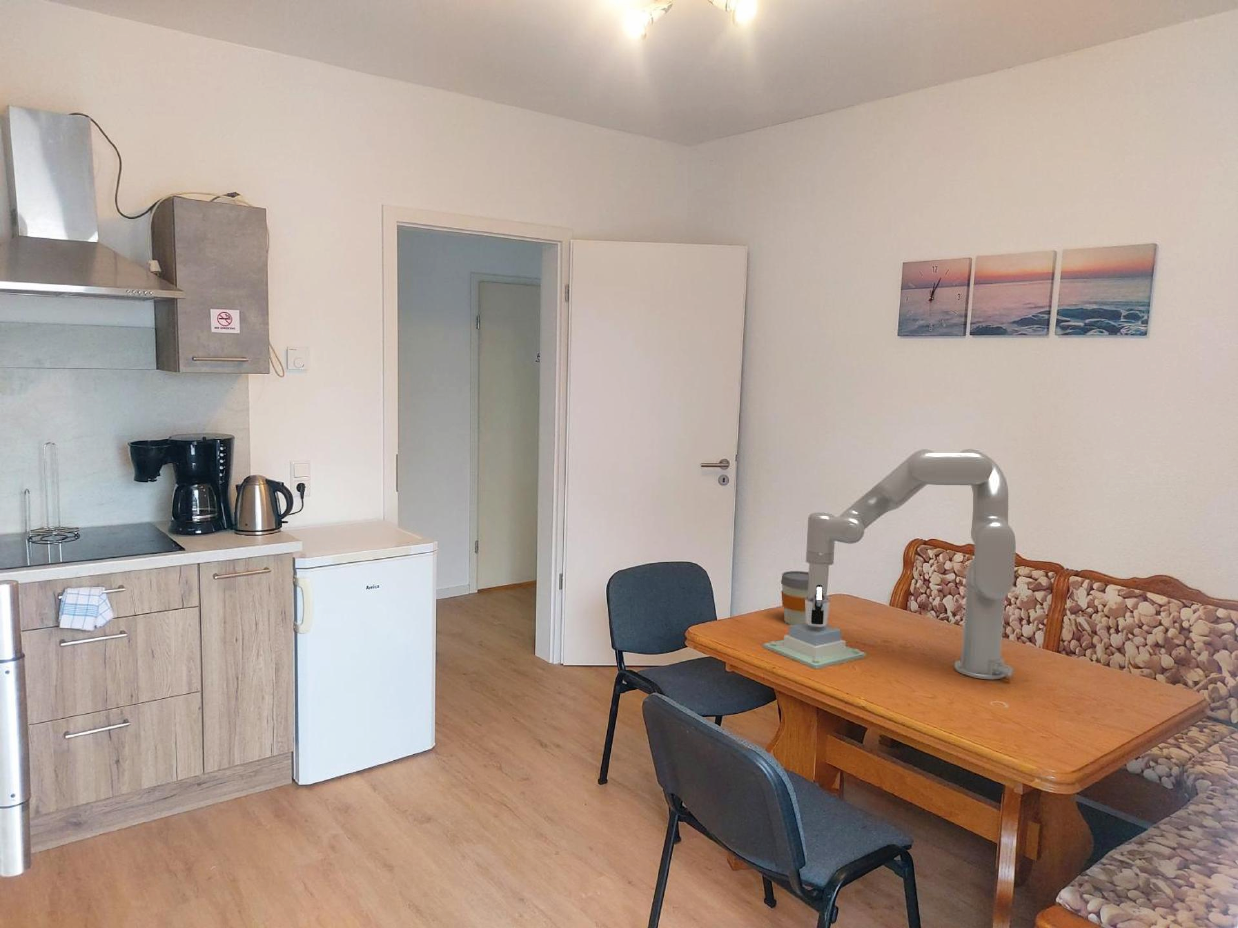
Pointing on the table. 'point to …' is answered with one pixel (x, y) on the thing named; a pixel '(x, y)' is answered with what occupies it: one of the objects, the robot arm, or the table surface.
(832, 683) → the table surface
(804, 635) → the stepped tiered stack
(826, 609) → the white tapered cup
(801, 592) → the reusable coffee cup
